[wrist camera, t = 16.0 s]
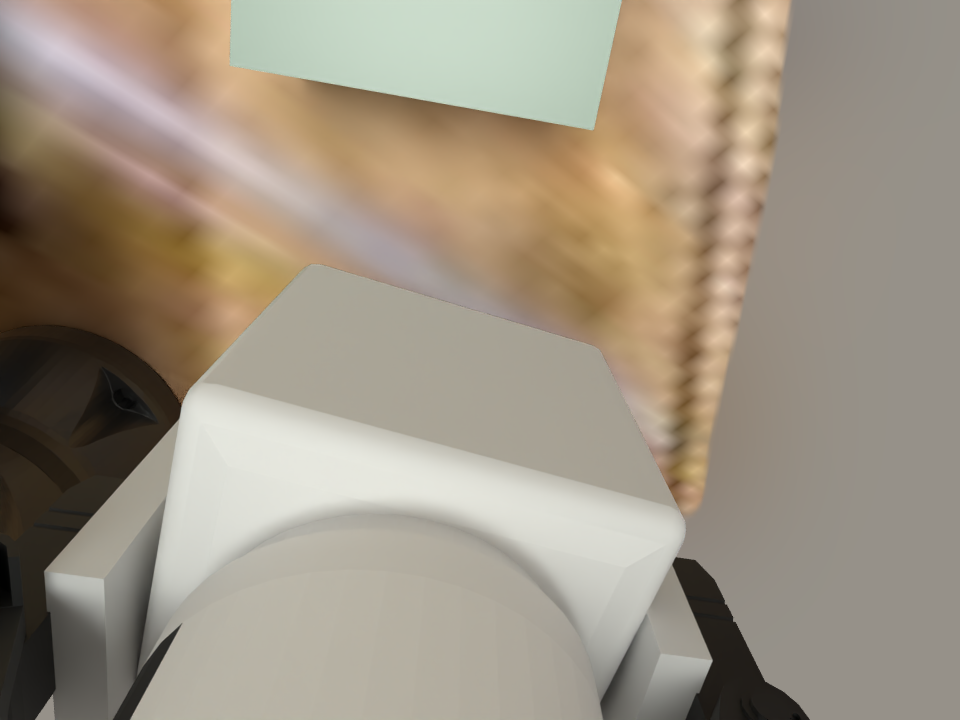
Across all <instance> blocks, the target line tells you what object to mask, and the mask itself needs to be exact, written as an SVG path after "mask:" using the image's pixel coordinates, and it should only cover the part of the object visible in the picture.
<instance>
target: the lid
mask: <svg viewBox="0 0 960 720" xmlns="http://www.w3.org/2000/svg"><path fill="white" fill-rule="evenodd" d="M621 2H622V0H231V35H230V66H234V67H240V68H246V69H251V70H257V71H262V72H268V73H274V74H279V75H285V76H291V77H296V78H302V79H307V80H313V81H319V82H324V83H330V84H335V85H341V86H347V87H352V88H358V89H364V90H369V91H375V92H380V93H386V94H392V95H397V96H403V97H409V98H414V99H420V100H425V101H431V102H437V103H442V104H448V105H454V106H459V107H465V108H470V109H476V110H482V111H487V112H493V113H499V114H504V115H510V116H515V117H521V118H527V119H532V120H538V121H544V122H549V123H555V124H560V125H566V126H572V127H577V128H583V129H589V130H594V126H595V122H596V117H597V112H598V108H599V103H600V99H601V94H602V89H603V85H604V80H605V76H606V71H607V66H608V62H609V57H610V52H611V48H612V43H613V39H614V34H615V29H616V25H617V20H618V16H619V11H620V6H621Z"/></svg>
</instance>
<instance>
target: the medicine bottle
mask: <svg viewBox="0 0 960 720" xmlns="http://www.w3.org/2000/svg"><path fill="white" fill-rule="evenodd" d="M685 533H686V523H685V520H684V518H683V516H682V514H681V512H680V510H679V508H678V506H677V504H676V502H675V500H674V498H673V496H672V494H671V492H670V490H669V488H668V486H667V484H666V482H665V480H664V478H663V476H662V474H661V472H660V470H659V468H658V466H657V464H656V462H655V460H654V458H653V456H652V454H651V452H650V450H649V448H648V446H647V444H646V442H645V440H644V438H643V436H642V434H641V432H640V430H639V427H638V425H637V423H636V421H635V419H634V417H633V415H632V413H631V411H630V409H629V407H628V405H627V403H626V401H625V399H624V397H623V395H622V393H621V391H620V389H619V387H618V385H617V383H616V381H615V379H614V377H613V375H612V373H611V371H610V369H609V367H608V365H607V363H606V361H605V359H604V357H603V355H602V353H601V351H600V350H599V349H598V348H596V347H594V346H593V345H590V344H586V343H583V342H580V341H576V340H573V339H570V338H566V337H563V336H560V335H556V334H553V333H550V332H546V331H543V330H539V329H536V328H533V327H529V326H526V325H523V324H519V323H516V322H513V321H509V320H506V319H503V318H499V317H496V316H493V315H489V314H486V313H482V312H479V311H476V310H472V309H469V308H466V307H462V306H459V305H456V304H452V303H449V302H446V301H442V300H439V299H435V298H432V297H429V296H425V295H422V294H419V293H415V292H412V291H409V290H405V289H402V288H399V287H395V286H392V285H389V284H385V283H382V282H378V281H375V280H372V279H368V278H365V277H362V276H358V275H355V274H352V273H348V272H345V271H342V270H338V269H335V268H332V267H328V266H325V265H321V264H311V265H309V266H307V267H305V268H303V270H302V271H301V272H300V273H299V274H298V275H297V276H296V277H295V278H294V279H293V280H292V281H291V282H290V283H289V284H288V285H287V286H286V288H285V289H284V290H283V291H282V292H281V293H280V294H279V295H278V296H277V297H276V298H275V299H274V300H273V301H272V302H271V303H270V304H269V306H268V307H267V308H266V309H265V310H264V311H263V312H262V313H261V314H260V315H259V316H258V317H257V318H256V319H255V320H254V321H253V322H252V324H251V325H250V326H249V327H248V328H247V329H246V330H245V331H244V332H243V333H242V334H241V335H240V336H239V337H238V338H237V339H236V340H235V342H234V343H233V344H232V345H231V346H230V347H229V348H228V349H227V350H226V351H225V352H224V353H223V354H222V355H221V356H220V357H219V358H218V360H217V361H216V362H215V363H214V364H213V365H212V366H211V367H210V368H209V369H208V370H207V371H206V372H205V373H204V374H203V375H202V376H201V378H200V379H199V380H198V381H197V382H196V383H195V384H194V385H193V386H192V387H191V388H190V389H189V391H188V393H187V395H186V397H185V398H184V400H183V404H182V408H181V413H180V419H179V425H178V431H177V437H176V443H175V449H174V455H173V461H172V467H171V473H170V479H169V485H168V491H167V497H166V503H165V509H164V515H163V521H162V527H161V533H160V539H159V545H158V551H157V557H156V563H155V569H154V575H153V581H152V587H151V593H150V599H149V605H148V611H147V617H146V623H145V629H144V635H143V641H142V647H141V653H140V659H139V665H138V671H137V677H136V680H135V681H134V683H133V685H132V687H131V688H130V690H129V692H128V694H127V695H126V697H125V699H124V701H123V702H122V704H121V706H120V708H119V709H118V711H117V713H116V715H115V716H114V718H113V720H603V716H602V711H601V707H600V702H601V700H602V698H603V696H604V694H605V692H606V690H607V688H608V687H609V685H610V683H611V681H612V679H613V677H614V675H615V673H616V671H617V669H618V667H619V665H620V663H621V661H622V660H623V658H624V656H625V654H626V652H627V650H628V648H629V646H630V644H631V642H632V640H633V638H634V636H635V634H636V633H637V631H638V629H639V627H640V625H641V623H642V621H643V619H644V617H645V615H646V613H647V611H648V609H649V607H650V606H651V604H652V602H653V600H654V598H655V596H656V594H657V592H658V590H659V588H660V586H661V584H662V582H663V581H664V579H665V577H666V575H667V573H668V571H669V569H670V567H671V565H672V563H673V561H674V559H675V557H676V555H677V554H678V552H679V550H680V548H681V546H682V544H683V542H684V538H685Z"/></svg>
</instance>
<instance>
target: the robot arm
mask: <svg viewBox="0 0 960 720" xmlns="http://www.w3.org/2000/svg"><path fill="white" fill-rule="evenodd" d="M180 413H181V407H180V405H179V403H178V402H177V400H176V398H175V397H174V395H173V394H172V392H171V391H170V389H169V388H168V387H167V385H166V384H165V383H164V382H163V380H162V379H161V378H160V377H159V376H158V375H157V374H156V373H155V372H154V371H153V370H152V369H151V368H150V367H149V366H148V365H147V364H146V363H144V362H143V361H142V360H141V359H139V358H138V357H137V356H135V355H134V354H132V353H131V352H129V351H128V350H126V349H124V348H123V347H121V346H119V345H117V344H116V343H114V342H112V341H110V340H107V339H105V338H103V337H100V336H98V335H95V334H92V333H89V332H86V331H82V330H78V329H74V328H68V327H61V326H48V325H42V326H28V327H22V328H17V329H13V330H9V331H6V332H3V333H1V334H0V720H35V719H36V717H37V716H38V714H39V713H40V712H41V710H42V709H43V707H44V706H45V704H46V703H47V701H48V700H49V699H50V697H51V696H52V694H53V699H54V713H55V720H113V718H114V716H115V715H116V713H117V711H118V709H119V708H120V706H121V704H122V702H123V701H124V699H125V697H126V695H127V694H128V692H129V690H130V688H131V687H132V685H133V683H134V681H135V680H136V677H137V671H138V665H139V659H140V653H141V647H142V641H143V635H144V629H145V623H146V617H147V611H148V605H149V599H150V593H151V587H152V581H153V575H154V569H155V563H156V557H157V551H158V545H159V539H160V533H161V527H162V521H163V515H164V509H165V503H166V497H167V491H168V485H169V479H170V473H171V467H172V461H173V455H174V449H175V443H176V437H177V431H178V425H179V419H180ZM600 707H601V711H602V716H603V720H810V719H809V718H808V717H807V715H806V714H805V713H804V711H803V710H802V709H801V707H800V706H799V705H798V704H797V703H796V702H795V701H794V700H793V699H791V698H790V697H789V696H788V695H787V694H785V693H784V692H783V691H781V690H779V689H778V688H776V687H774V686H772V685H770V684H768V683H767V682H765V680H764V678H763V677H762V674H761V672H760V670H759V669H758V666H757V665H756V662H755V661H754V658H753V656H752V654H751V652H750V651H749V648H748V647H747V644H746V642H745V640H744V638H743V636H742V634H741V632H740V630H739V628H738V626H737V624H736V622H733V616H732V614H731V612H730V610H729V608H728V606H727V605H725V600H724V598H723V596H722V594H721V592H720V590H719V588H718V586H717V584H716V582H715V580H714V579H713V578H712V577H711V576H710V575H709V574H708V573H707V572H706V571H705V570H704V569H703V568H702V567H701V566H700V564H699V563H698V562H696V560H691V559H684V558H677V557H675V559H674V561H673V563H672V565H671V567H670V569H669V571H668V573H667V575H666V577H665V579H664V581H663V582H662V584H661V586H660V588H659V590H658V592H657V594H656V596H655V598H654V600H653V602H652V604H651V606H650V607H649V609H648V611H647V613H646V615H645V617H644V619H643V621H642V623H641V625H640V627H639V629H638V631H637V633H636V634H635V636H634V638H633V640H632V642H631V644H630V646H629V648H628V650H627V652H626V654H625V656H624V658H623V660H622V661H621V663H620V665H619V667H618V669H617V671H616V673H615V675H614V677H613V679H612V681H611V683H610V685H609V687H608V688H607V690H606V692H605V694H604V696H603V698H602V700H601V702H600Z"/></svg>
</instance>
